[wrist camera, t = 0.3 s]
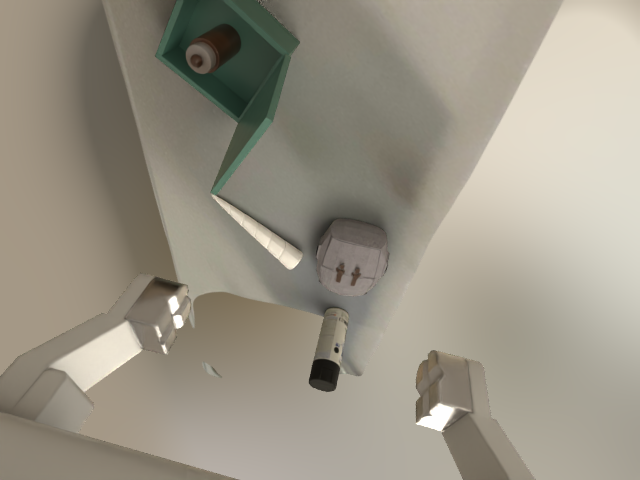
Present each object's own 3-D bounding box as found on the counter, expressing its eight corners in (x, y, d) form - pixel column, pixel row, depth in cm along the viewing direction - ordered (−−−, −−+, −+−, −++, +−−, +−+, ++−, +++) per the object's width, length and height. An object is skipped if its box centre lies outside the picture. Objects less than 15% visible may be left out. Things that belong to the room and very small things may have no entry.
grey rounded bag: (325, 209, 69) (313, 271, 83) (317, 237, 63) (305, 299, 77) (399, 227, 68) (374, 287, 82) (397, 257, 62) (370, 316, 76)
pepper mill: (212, 20, 48) (175, 40, 41) (241, 27, 48) (208, 48, 41) (214, 52, 51) (179, 76, 44) (241, 58, 51) (211, 84, 44)
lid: (210, 192, 43) (216, 195, 43) (266, 116, 34) (272, 121, 35) (237, 125, 53) (241, 128, 53) (286, 53, 44) (291, 57, 45)
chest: (175, 45, 53) (154, 56, 49) (211, -43, 44) (190, -38, 40) (253, 110, 57) (240, 125, 53) (300, 42, 49) (289, 54, 45)
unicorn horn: (220, 183, 70) (210, 197, 66) (306, 250, 78) (301, 265, 75) (209, 195, 73) (199, 209, 69) (293, 258, 81) (288, 273, 78)
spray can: (345, 323, 96) (332, 395, 82) (322, 316, 96) (305, 386, 82) (352, 311, 91) (340, 385, 77) (328, 303, 91) (311, 376, 77)
